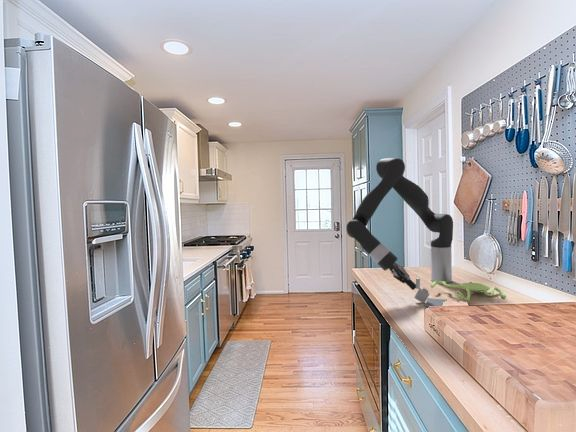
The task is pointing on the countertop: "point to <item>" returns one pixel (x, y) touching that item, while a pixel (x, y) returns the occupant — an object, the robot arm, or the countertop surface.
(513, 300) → the countertop surface
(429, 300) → the slate pad
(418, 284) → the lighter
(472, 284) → the figurine
